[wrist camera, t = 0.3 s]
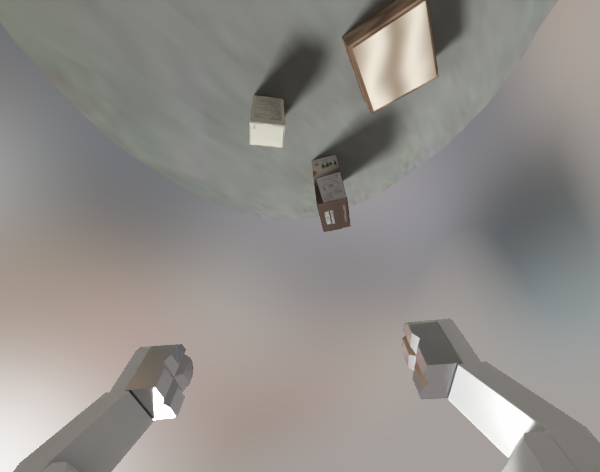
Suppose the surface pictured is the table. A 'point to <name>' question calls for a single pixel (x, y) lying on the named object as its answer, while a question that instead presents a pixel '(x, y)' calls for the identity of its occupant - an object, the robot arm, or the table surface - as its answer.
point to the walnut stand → (393, 52)
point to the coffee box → (330, 194)
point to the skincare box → (267, 122)
